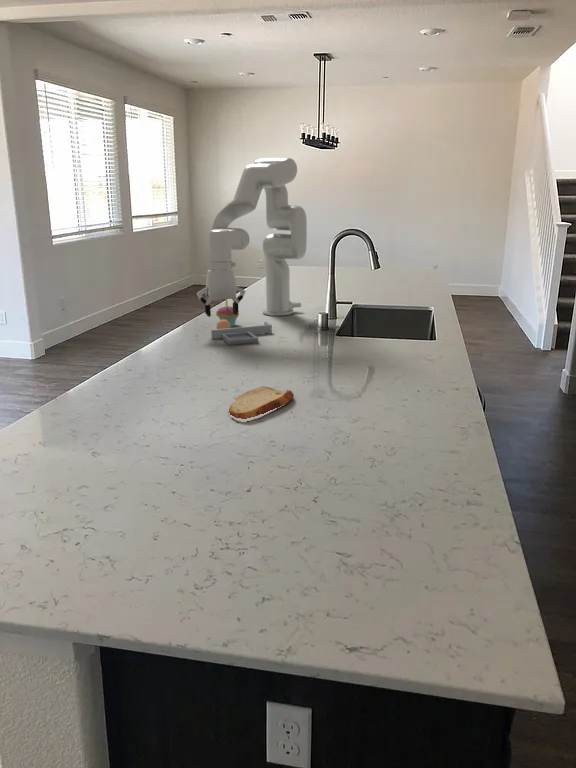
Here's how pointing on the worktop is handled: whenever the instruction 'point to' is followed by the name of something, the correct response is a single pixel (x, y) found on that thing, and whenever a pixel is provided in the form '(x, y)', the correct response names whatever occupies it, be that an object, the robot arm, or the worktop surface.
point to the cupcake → (227, 314)
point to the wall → (243, 330)
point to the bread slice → (259, 402)
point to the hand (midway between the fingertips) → (221, 315)
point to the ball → (223, 324)
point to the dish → (239, 338)
